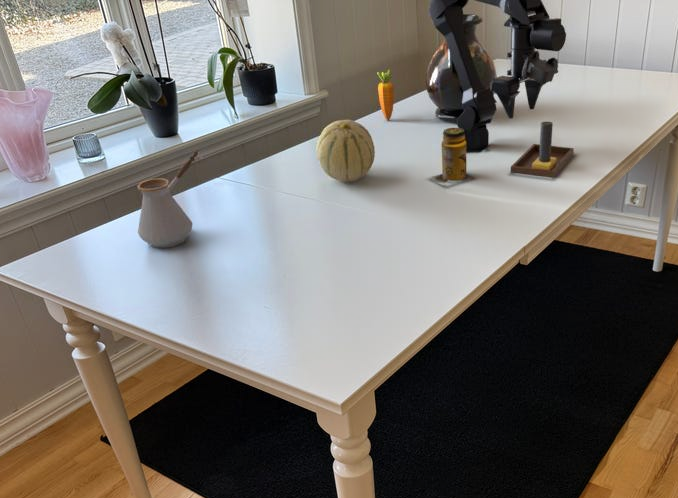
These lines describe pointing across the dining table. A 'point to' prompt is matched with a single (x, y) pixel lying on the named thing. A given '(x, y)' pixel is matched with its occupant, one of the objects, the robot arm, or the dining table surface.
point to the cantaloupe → (345, 150)
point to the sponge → (545, 149)
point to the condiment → (452, 156)
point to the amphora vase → (444, 76)
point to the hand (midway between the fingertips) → (521, 113)
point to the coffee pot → (163, 212)
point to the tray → (532, 154)
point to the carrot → (386, 94)
